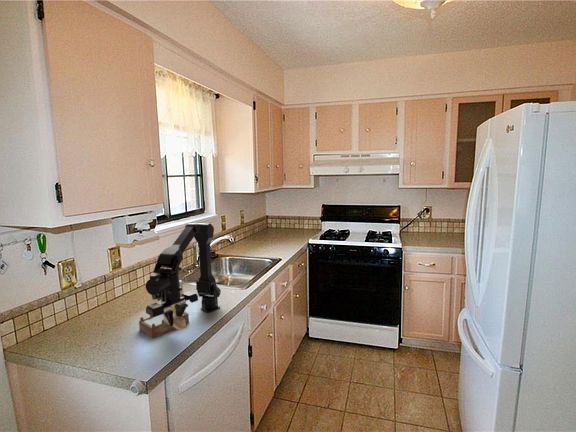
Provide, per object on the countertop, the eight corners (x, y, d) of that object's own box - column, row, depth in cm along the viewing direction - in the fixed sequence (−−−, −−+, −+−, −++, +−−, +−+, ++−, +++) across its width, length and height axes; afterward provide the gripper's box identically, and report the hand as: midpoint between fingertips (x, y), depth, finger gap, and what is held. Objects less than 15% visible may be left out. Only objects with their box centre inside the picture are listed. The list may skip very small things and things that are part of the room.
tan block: (169, 319, 130) (169, 311, 129) (185, 327, 123) (185, 318, 122) (164, 322, 128) (163, 313, 127) (180, 330, 121) (179, 321, 120)
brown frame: (175, 316, 143) (174, 304, 143) (189, 322, 137) (188, 310, 136) (139, 330, 131) (138, 318, 131) (152, 338, 125) (151, 325, 124)
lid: (174, 311, 141) (173, 300, 141) (184, 315, 137) (183, 304, 136) (143, 323, 131) (142, 311, 130) (153, 328, 126) (152, 316, 126)
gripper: (181, 274, 135) (184, 310, 137) (136, 288, 121) (140, 327, 123) (197, 279, 128) (200, 317, 130) (151, 294, 114) (155, 337, 116)
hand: (174, 324), depth 125 cm, fingers closed on tan block, 2 cm apart
